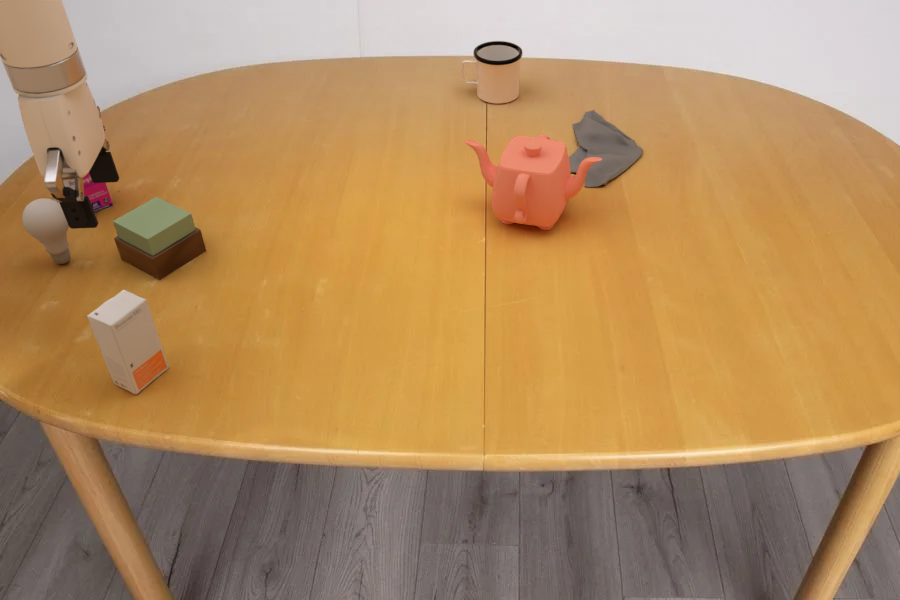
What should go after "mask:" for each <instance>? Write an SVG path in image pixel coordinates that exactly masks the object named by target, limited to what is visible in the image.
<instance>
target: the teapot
mask: <svg viewBox="0 0 900 600" xmlns="http://www.w3.org/2000/svg"><path fill="white" fill-rule="evenodd" d="M464 143H465V144H466V145H468V146H469V147H470V148H471V149H472V150H473V151H474V152H475V154H476V156H477V159H478V163H479V169H480V173H481V175H482V178H483V180H484V181H485V182H486V184H487V185H489V186H490V187H491V188H492V192H491V207H492V211H493V214H494V216H495V218H496V219H498V220H500V222H501V223H503V224H505V225H511V224H514V223H515V224H519V225H520V224H521V225H528V226H534V227H535V226H536V227H537V228H538V229H540V230H542V231H548V230H551V229H553V228H554V225H555V224H556V223H557V222H558V220H559V219H560V218H561V215H562V214H563V213H564V210H565V209H566V206H567V204H568V202H569V199H572V198H574V197H575V196H577V195H578V194H579V193H580V192H581V190H582V188H583V187H584V185H585V178H586V174H587V172H588V169H589V168H590V167H591V166H592V165H593V164H595V163H597V162H599V161H601V160H602V158H599V157H589V158H586V159H584V160H583V161H582V162H581V163H580V165H579V168H578V171H577V173H575V175H574V176H572V172H571V169H570V162H569V157H570V156H569V154H568V153H569V152H568V147H567V144H566V143H565V142H564V141H561V140H555V139H551V138H550V136H549V135H547V134H543V133H541V134H538V135H537V136H536V137H535V136H528V135H516V136H514V137H513V138H512V139H510V141H509V142H508V143H507V145H506V146H505V148H504V149H503V152H502V154H501V156H500V159H499V161H498V165H496V164H495V163H493V162H492V161H491V159H490V157H489V154H488V151H487V149H486V148H485V146H484V145H483V144H482V143H480V142H479V141H476V140H472V139H465V140H464Z"/></svg>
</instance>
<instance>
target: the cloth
mask: <svg viewBox="0 0 900 600" xmlns="http://www.w3.org/2000/svg"><path fill="white" fill-rule="evenodd" d="M572 127H573V132H574V136H575V138H576V141H577V143H578V147H577V149H576V150H575V151H574V152H573V153H571V154H570V155H569V156H568V157H569V162H570V169H571V173H572V174H573V173H575V174H576V173H577V171H578V168H579V165H580V163H581V162H582V161H583V160H584V159H586V158H589V157H599V158H602V160H601V161H599V162H597V163H595V164H593V165H592V166H591V167H590V168H589V169H588V172H587V174H586V178H585V182H584V187H585V188H599V187H601V186H603V185H604V186H606V185H608V183H609V182H610V181H612V180H613V179H615V178H616V177H618V176H619V175H621V174H622V173H623V172H624V171H626V170H627V169H629V168H630V167H631V166H632V165H634V163H636V162H637V160H638V159H639V158H640V157H641V156H642V154H643V148H642V147H641V146H640V145H638V144H637V142H636V141H635V140H634V139H633V138H631V137H630V136H628V135H627V134H626V133H624V132H623V131H622V130H620V128H618V127H617V126H616V125H614V124H612V123H610V122H608V121H607V120H606V119H605V118H604V117H603V116H602V115H601V114H599V113H598V112H597V111H595V109H592V110H589V111H585V112H584V114H583V117H582V118H581V120H580V121H578V122H575V123H572Z"/></svg>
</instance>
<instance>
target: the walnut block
mask: <svg viewBox="0 0 900 600" xmlns="http://www.w3.org/2000/svg"><path fill="white" fill-rule="evenodd" d="M195 229H196V230H194V231H193V232H191V233H190V234H188V235H186V236H185V237H183V238H181V239H180V240H178V241H176V242H175V243H173V244H172V245H170V246H168V247H167V248H165V249H163V250H162V251H160V252H159V253H157V254H155V255H154V256H153V255H151V254H149V253H147V252H145V251H143V250H141V249H139V248H137V247H136V246H134V245H132V244H130V243H128V242H126V241H124V240H122V239H120V238H119V237H118V235H117V236H115V237H114V238H113V239H114V242H115V246H116V248H117V251H118V254H119V256H120V259H121V260H122V261H124V262H125V263H127V264H130V265H131V266H133V267H134V268H137V269H138V270H140V271H143V272H144V273H146V274H148V275H150V276H151V277H153V278H155V279H157V280H159V281H160V280H162V279H164V278H166V277H167V276H169V275H170V274H172V273H174V271H177V270H178V269H179V268H181V267H183V266H184V265H186V264H188V263H189V262H191V261H192V260H194V259H196V258H197V257H198V256H200V255H202V254H203V253H205V252H207V248H206V244H205V240H204V237H203V233H202V229H200V228H199V227H197V226H195Z"/></svg>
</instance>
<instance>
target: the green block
mask: <svg viewBox="0 0 900 600" xmlns="http://www.w3.org/2000/svg"><path fill="white" fill-rule="evenodd" d="M112 223H113V226H114V229H115V231H116V235H117V236H118V237H119V238H120V239H122V240H124V241H126V242H128V243H130V244H132V245H134V246H136V247H137V248H139V249H141V250H143V251H145V252H147V253H149V254H151V255H153V256H154V255H155V254H157V253H159V252H160V251H162V250H163V249H165V248H167V247H168V246H170V245H172V244H173V243H175V242H176V241H178V240H180V239H181V238H183V237H185V236H186V235H188V234H190V233H191V232H193V231H194V230H196V229H195V227H196V226H195V222H194V219H193V216H192V213H191V212H189V211H187V210H185V209H183V208H181V207H179V206H176V205H174V204H173V203H170V202H168V201H167V200H164V199H162V198H160V197H158V196H155V197H153V198H151V199H149V200H147V201H146V202H144V203H142V204H141V205H139V206H137V207H135V208H133V209H131V210H130V211H128V212H126V213H124V214H123V215H121V216H120V217H117V218H116V219H114V220H112Z"/></svg>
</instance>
